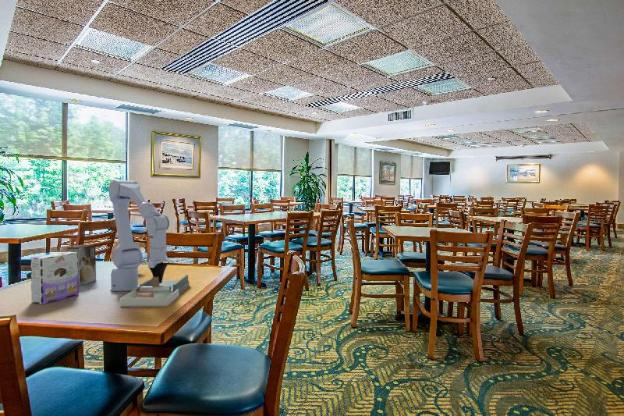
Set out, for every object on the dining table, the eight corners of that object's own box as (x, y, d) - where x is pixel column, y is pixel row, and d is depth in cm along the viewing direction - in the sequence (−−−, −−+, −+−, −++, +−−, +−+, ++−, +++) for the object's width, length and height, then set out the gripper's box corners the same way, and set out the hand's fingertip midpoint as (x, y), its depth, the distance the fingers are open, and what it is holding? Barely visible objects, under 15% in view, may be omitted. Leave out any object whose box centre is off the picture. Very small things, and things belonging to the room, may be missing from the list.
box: (120, 306, 129) (120, 298, 129) (135, 296, 142) (135, 288, 141) (167, 306, 130) (167, 297, 130) (178, 296, 142) (178, 288, 142)
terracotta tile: (138, 299, 136) (138, 294, 136) (142, 296, 140) (142, 291, 140) (149, 299, 136) (149, 294, 136) (153, 296, 140) (153, 291, 140)
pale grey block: (140, 291, 139) (139, 277, 139) (142, 290, 141) (142, 275, 141) (169, 291, 139) (169, 277, 139) (171, 290, 141) (171, 275, 141)
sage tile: (153, 299, 136) (153, 294, 136) (158, 296, 140) (157, 291, 140) (165, 299, 136) (165, 294, 136) (168, 296, 140) (168, 291, 140)
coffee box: (84, 280, 167) (83, 244, 167) (96, 280, 166) (96, 244, 165) (66, 285, 158) (66, 247, 158) (79, 285, 157) (79, 247, 156)
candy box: (69, 293, 146) (68, 251, 145) (79, 294, 144) (78, 252, 143) (30, 302, 133) (29, 256, 132) (41, 304, 131) (40, 257, 130)
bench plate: (138, 296, 142) (138, 284, 141) (155, 285, 159) (155, 274, 158) (176, 296, 142) (176, 284, 142) (189, 285, 159) (189, 274, 159)
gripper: (161, 250, 135) (162, 287, 136) (174, 244, 149) (175, 278, 150) (141, 250, 135) (142, 287, 135) (156, 244, 149) (157, 278, 150)
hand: (158, 283), depth 143 cm, fingers closed
